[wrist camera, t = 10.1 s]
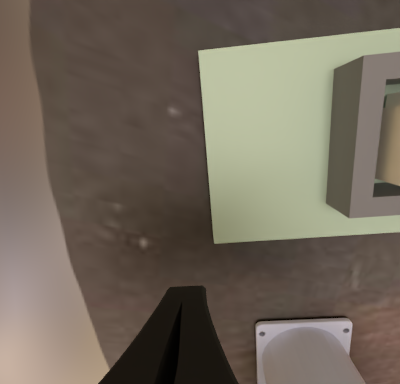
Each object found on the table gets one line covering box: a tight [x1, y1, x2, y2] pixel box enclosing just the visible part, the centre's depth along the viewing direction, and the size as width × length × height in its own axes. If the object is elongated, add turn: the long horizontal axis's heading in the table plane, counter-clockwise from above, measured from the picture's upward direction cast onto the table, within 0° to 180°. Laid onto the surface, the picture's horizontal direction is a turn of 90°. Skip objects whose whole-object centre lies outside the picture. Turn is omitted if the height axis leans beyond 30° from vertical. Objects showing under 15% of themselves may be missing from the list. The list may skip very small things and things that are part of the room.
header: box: [198, 28, 400, 244], centre depth 14 cm, size 13×17×4 cm
